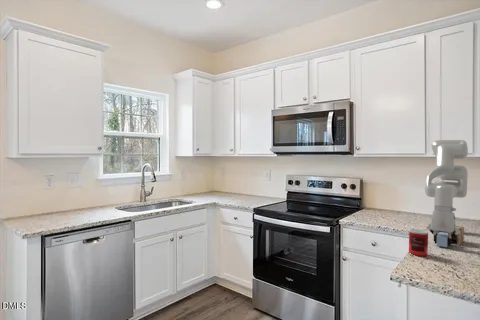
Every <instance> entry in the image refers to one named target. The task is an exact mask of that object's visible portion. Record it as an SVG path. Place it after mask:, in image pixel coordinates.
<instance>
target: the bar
mask: <svg viewBox="0 0 480 320" xmlns="http://www.w3.org/2000/svg"><path fill="white" fill-rule="evenodd" d="M447 239H448V233H445V232H439V234H438V235H437V243H436V247H442V248H448V247H449V246H447Z"/></svg>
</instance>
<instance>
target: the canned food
mask: <svg viewBox="0 0 480 320" xmlns="http://www.w3.org/2000/svg"><path fill="white" fill-rule="evenodd" d="M408 231H409V232H408V253H409V254H410V253H411V254H413V255H412V256H414V255H415V256H416V257H419V256H420V257H421V258H424V257H425V258H426V257H427V256H428V254H429V253H428V250H429V248H428V247H429V232H428V231H426V230H423V229H416V228H415V229H414V228H411V229H409V230H408ZM411 254H410V255H411ZM415 256H414V257H415ZM420 257H419V258H420Z"/></svg>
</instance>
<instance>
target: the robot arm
mask: <svg viewBox="0 0 480 320" xmlns="http://www.w3.org/2000/svg"><path fill="white" fill-rule="evenodd" d="M431 149H432V152H433V153H434V155H435V167H434V168H433V169H432V170H431V171H429V172H428V173H427V176H426V177H425V184H424V185H425V187H424V193H425V195H426V196H427V197H430V198H433V199H434V201H433V202H434V203H433V205H434V208H433V209H434V210H432V216H431V220H430V221H431V222H430V223H429V224H428V225H427V226H426V229H427V230H428V231H429V232H430V233H431V234H432V236H433V242H434V244H435V245H437V233H438V231H443V232H447V233H448V239H447V246H448V247H450V246H451V245H452V237H454V236H456V235H458V234H460V231H459V230H458V229H457V228H456V226H457V224H456V214H455V212H456V211H457V208H455V207H454V206H453V201H454V200H453V199H454V198H459V199H460V198H461V199H463V198H465V197H467V193H468V176H469V175H468V169H467V168H466V167H465V166H464V165H455V159H457V160H459V159H460V160H463V159H466V158H467V157H468V153H469V148H468V143H467V141H466V140H464V139H440V140H439V139H437V140H433V142H431ZM435 178H437V179H438V180H440V181H437V182H433V183H432V181H433V180H434V179H435ZM454 231H456V232H455V233H453V234H452V232H454Z"/></svg>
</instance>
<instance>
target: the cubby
mask: <svg viewBox="0 0 480 320" xmlns="http://www.w3.org/2000/svg"><path fill="white" fill-rule="evenodd" d="M456 228H457V229H458V230H459V231H460V234H458V235H456V236H454V237H452V240H453V241H456V246H460V245H461V244H463V243H464V238H465V237H464V235H465V227H464V226H460V225H459V226H458V225H456ZM439 232H443V231H438V233H437V235H438V234H439ZM455 232H456V231H454V232H452V234H453V233H455ZM445 233H447V232H445Z"/></svg>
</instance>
